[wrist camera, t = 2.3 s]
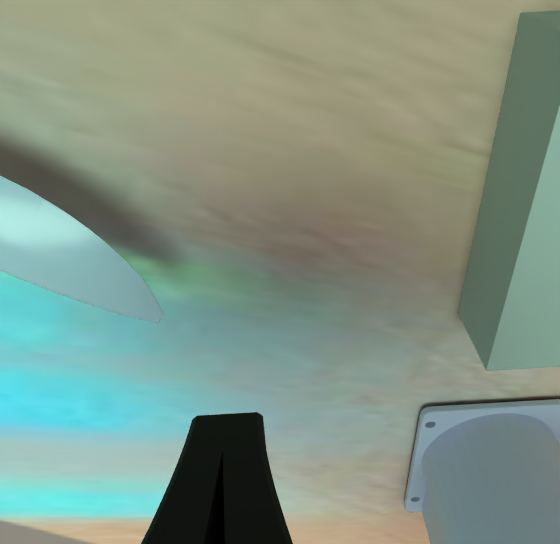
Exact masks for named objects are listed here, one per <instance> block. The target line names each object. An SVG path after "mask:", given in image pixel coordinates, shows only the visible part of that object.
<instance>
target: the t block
mask: <svg viewBox="0 0 560 544" xmlns="http://www.w3.org/2000/svg"><path fill="white" fill-rule="evenodd" d="M458 313H459V315H460V318H461V320H462V322H463V324H464V326H465V328H466V330H467V332H468V334H469V336H470V338H471V340H472V342H473V344H474V346H475V349H476V351H477V353H478V355H479V357H480V359H481V361H482V363H483V365H484V367H485V369H486V371H490V370H507V369H525V368H542V367H559V366H560V11H547V12H529V13H520V18H519V22H518V27H517V32H516V37H515V42H514V46H513V51H512V56H511V61H510V65H509V70H508V75H507V80H506V85H505V89H504V94H503V99H502V104H501V109H500V113H499V118H498V123H497V128H496V132H495V137H494V142H493V147H492V152H491V156H490V161H489V166H488V171H487V175H486V180H485V185H484V190H483V195H482V199H481V204H480V209H479V214H478V218H477V223H476V228H475V233H474V238H473V242H472V247H471V252H470V257H469V262H468V266H467V271H466V276H465V281H464V285H463V290H462V295H461V300H460V305H459V309H458Z"/></svg>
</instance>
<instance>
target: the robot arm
mask: <svg viewBox="0 0 560 544" xmlns="http://www.w3.org/2000/svg"><path fill="white" fill-rule="evenodd" d="M404 506H405V510H406V511H408V512H422V513H423V517H424V521H425V524H426V528H427V532H428V535H429V539H430V543H431V544H560V399H552V400H535V401H517V402H500V403H483V404H466V405H448V406H431V407H426V408H424V409H423V410H422V411H421V413H420V417H419V422H418V428H417V434H416V439H415V445H414V450H413V456H412V461H411V467H410V473H409V478H408V484H407V489H406V495H405V500H404ZM141 544H293V543H292V540H291V537H290V534H289V531H288V528H287V525H286V522H285V519H284V516H283V512H282V509H281V506H280V503H279V499H278V496H277V493H276V489H275V486H274V482H273V478H272V474H271V470H270V466H269V461H268V457H267V452H266V443H265V433H264V423H263V416H262V415H261V414H259V413H257V412H254V413H237V414H220V415H202V416H196V417H195V418H194V419H193V420H192V423H191V426H190V430H189V433H188V436H187V439H186V442H185V445H184V447H183V450H182V453H181V455H180V458H179V461H178V463H177V466H176V468H175V471H174V473H173V476H172V478H171V480H170V483H169V485H168V487H167V490H166V492H165V494H164V496H163V499H162V501H161V503H160V505H159V507H158V510H157V512H156V514H155V516H154V518H153V521H152V523H151V525H150V527H149V529H148V531H147V533H146V535H145V537H144V539H143V541H142V543H141Z"/></svg>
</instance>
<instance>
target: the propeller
mask: <svg viewBox="0 0 560 544" xmlns="http://www.w3.org/2000/svg"><path fill="white" fill-rule="evenodd" d="M0 271H2V272H4V273H6V274H9V275H12V276H14V277H17V278H19V279H22V280H24V281H27V282H29V283H32V284H34V285H37V286H39V287H42V288H45V289H47V290H50V291H53V292H55V293H58V294H61V295H64V296H67V297H70V298H72V299H75V300H78V301H81V302H84V303H87V304H90V305H93V306H96V307H99V308H102V309H105V310H108V311H111V312H115V313H118V314H121V315H125V316H129V317H133V318H138V319H142V320H147V321H151V322H156V323H159V322H160V320H161V319H162V317H163V315H164V313H163V311H162V309H161V308H160V306H159V304H158V302H157V301H156V299H155V297H154V295H153V294H152V292H151V290H150V288H149V287H148V285H147V284H146V282H145V281H144V279H143V278H142V277H141V275H140V274H139V273H138V272H137V271H136V270H135V269H134V268H133V267H132V266H131V265H130V264H128V263H127V262H126V261H125V260H124V259H123V258H122V257H121V256H120V255H119V254H118V253H117V252H116V251H115V250H113V249H112V248H111V247H110V246H109V245H108V244H107V243H105V242H104V241H103V240H102V239H101V238H99V237H98V236H97V235H96V234H95V233H93V232H92V231H91V230H90V229H88V228H87V227H86V226H84V225H83V224H81V223H80V222H79V221H77V220H76V219H74V218H73V217H72V216H70V215H69V214H67V213H66V212H64V211H63V210H61V209H60V208H58V207H56V206H55V205H53V204H51V203H50V202H48V201H47V200H45V199H43V198H42V197H40V196H38V195H37V194H35V193H33V192H32V191H30V190H28V189H26V188H24V187H22V186H20V185H18V184H16V183H14V182H12V181H10V180H8V179H6V178H4V177H2V176H0Z"/></svg>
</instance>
